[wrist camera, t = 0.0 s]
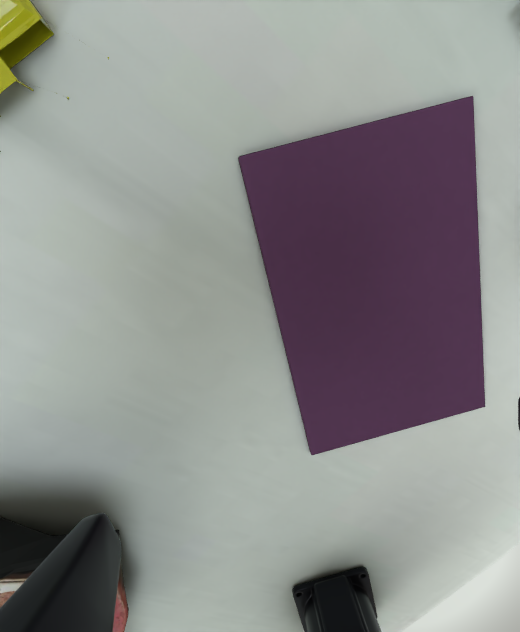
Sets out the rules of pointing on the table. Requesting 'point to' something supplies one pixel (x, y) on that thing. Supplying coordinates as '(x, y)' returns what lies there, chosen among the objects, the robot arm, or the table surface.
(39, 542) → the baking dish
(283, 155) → the mat
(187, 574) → the table surface
